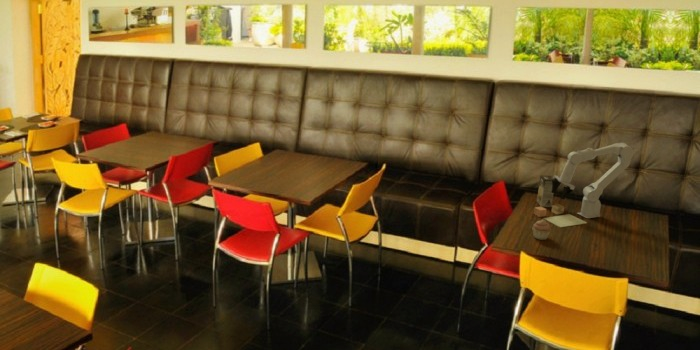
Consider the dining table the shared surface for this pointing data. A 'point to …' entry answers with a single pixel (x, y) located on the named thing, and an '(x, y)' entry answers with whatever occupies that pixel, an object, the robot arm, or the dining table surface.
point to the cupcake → (541, 230)
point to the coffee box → (545, 191)
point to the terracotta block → (540, 211)
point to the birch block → (557, 209)
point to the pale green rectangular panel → (565, 220)
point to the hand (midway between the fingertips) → (557, 195)
